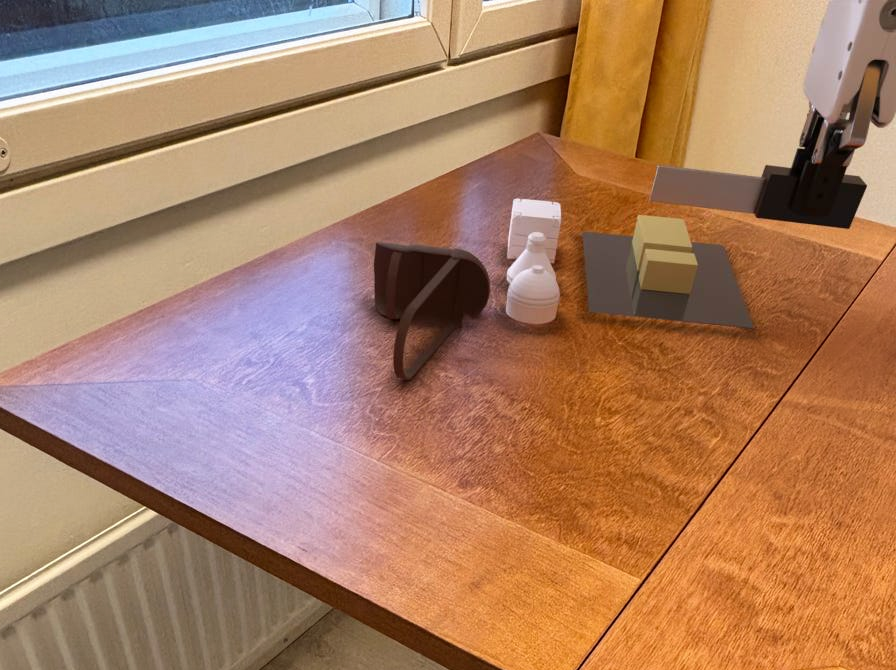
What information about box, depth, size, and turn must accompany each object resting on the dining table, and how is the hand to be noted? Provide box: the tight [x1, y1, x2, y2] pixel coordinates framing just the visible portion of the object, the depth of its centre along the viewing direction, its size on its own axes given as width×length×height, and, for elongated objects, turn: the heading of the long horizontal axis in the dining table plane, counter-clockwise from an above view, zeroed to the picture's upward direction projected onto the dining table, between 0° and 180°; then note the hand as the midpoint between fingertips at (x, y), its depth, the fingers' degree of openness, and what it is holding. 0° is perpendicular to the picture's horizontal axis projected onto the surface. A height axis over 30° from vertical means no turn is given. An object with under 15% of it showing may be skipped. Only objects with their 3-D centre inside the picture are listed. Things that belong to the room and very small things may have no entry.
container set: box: [505, 198, 562, 325], centre depth 89 cm, size 20×5×6 cm, turn 175°
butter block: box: [632, 214, 692, 271], centre depth 95 cm, size 5×8×3 cm, turn 174°
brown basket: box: [373, 241, 491, 381], centre depth 79 cm, size 18×12×7 cm, turn 170°
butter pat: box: [639, 249, 698, 294], centre depth 90 cm, size 5×3×3 cm, turn 84°
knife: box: [648, 164, 868, 230], centre depth 75 cm, size 17×2×4 cm, turn 86°
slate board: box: [582, 230, 755, 330], centre depth 94 cm, size 16×21×1 cm
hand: (805, 205), depth 76 cm, fingers closed on knife, 2 cm apart
